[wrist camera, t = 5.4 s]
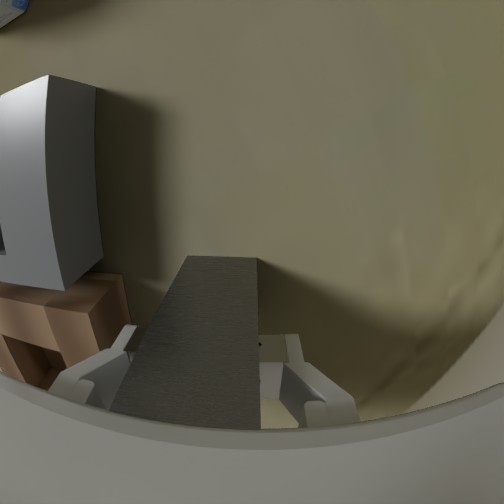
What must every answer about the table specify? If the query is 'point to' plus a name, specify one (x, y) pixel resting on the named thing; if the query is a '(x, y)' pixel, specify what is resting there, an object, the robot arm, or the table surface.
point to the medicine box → (11, 10)
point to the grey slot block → (48, 184)
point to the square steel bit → (200, 350)
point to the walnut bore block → (59, 325)
